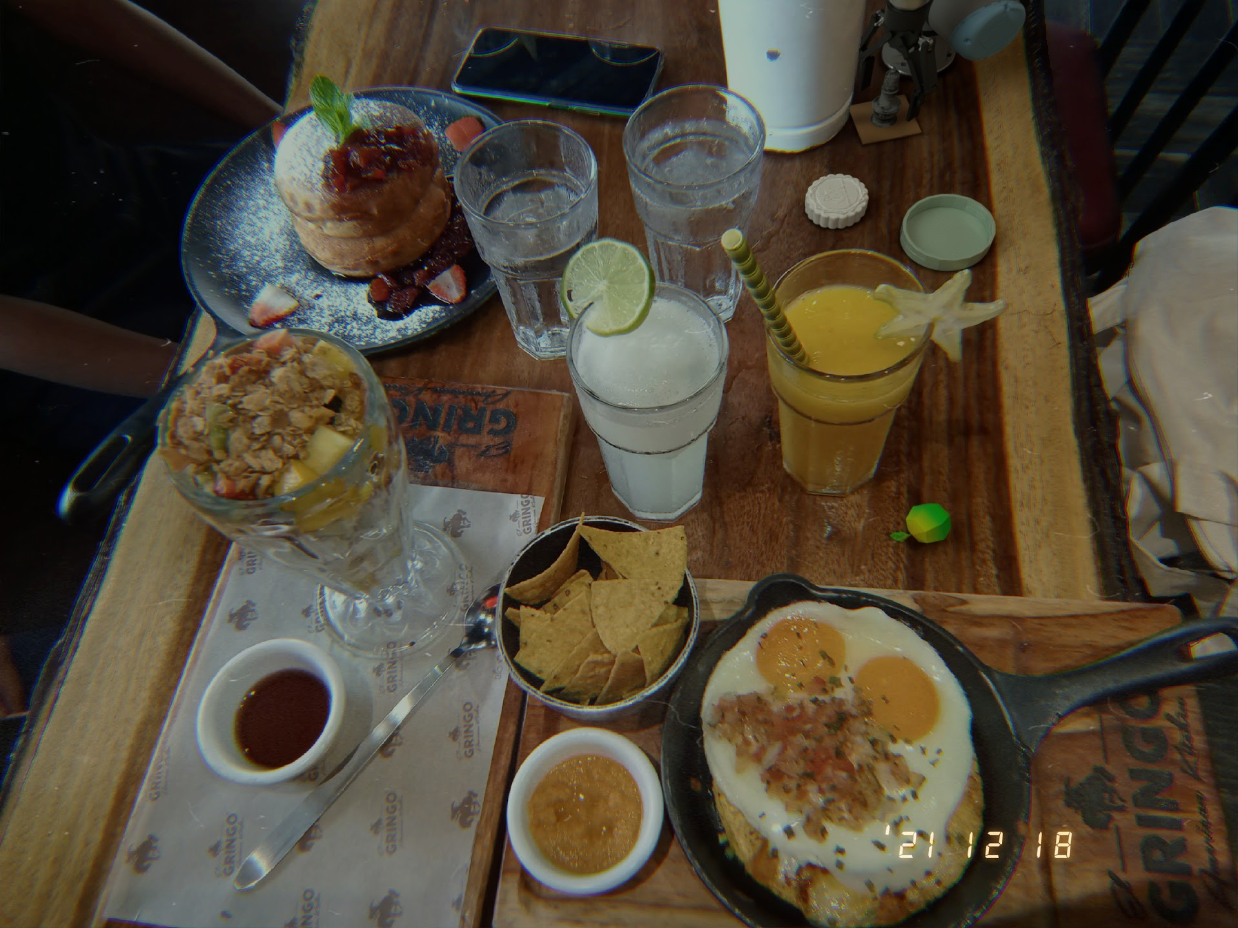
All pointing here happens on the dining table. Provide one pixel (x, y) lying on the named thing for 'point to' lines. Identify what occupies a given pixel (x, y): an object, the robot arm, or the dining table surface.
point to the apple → (926, 524)
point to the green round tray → (947, 232)
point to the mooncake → (836, 201)
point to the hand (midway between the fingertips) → (887, 103)
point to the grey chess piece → (887, 101)
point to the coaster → (878, 134)
